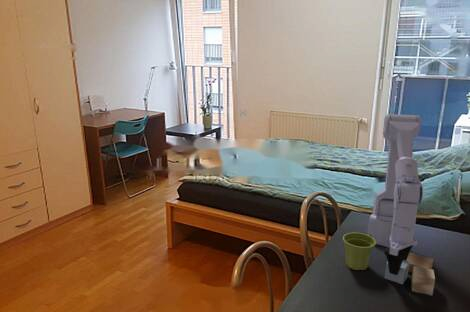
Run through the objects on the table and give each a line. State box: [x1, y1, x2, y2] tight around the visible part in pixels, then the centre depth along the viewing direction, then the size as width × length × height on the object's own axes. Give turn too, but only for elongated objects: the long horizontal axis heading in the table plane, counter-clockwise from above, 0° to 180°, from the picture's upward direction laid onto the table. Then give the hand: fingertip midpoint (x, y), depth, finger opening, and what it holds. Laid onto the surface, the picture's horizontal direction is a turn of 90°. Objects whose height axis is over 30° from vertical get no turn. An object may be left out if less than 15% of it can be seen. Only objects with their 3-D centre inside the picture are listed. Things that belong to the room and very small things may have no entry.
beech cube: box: [411, 266, 436, 296], centre depth 103 cm, size 5×5×5 cm
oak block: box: [407, 251, 434, 273], centre depth 113 cm, size 7×7×3 cm
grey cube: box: [384, 260, 410, 285], centre depth 108 cm, size 5×5×5 cm
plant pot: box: [342, 232, 377, 271], centre depth 113 cm, size 9×9×9 cm
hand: (397, 267), depth 108 cm, fingers open, 7 cm apart
